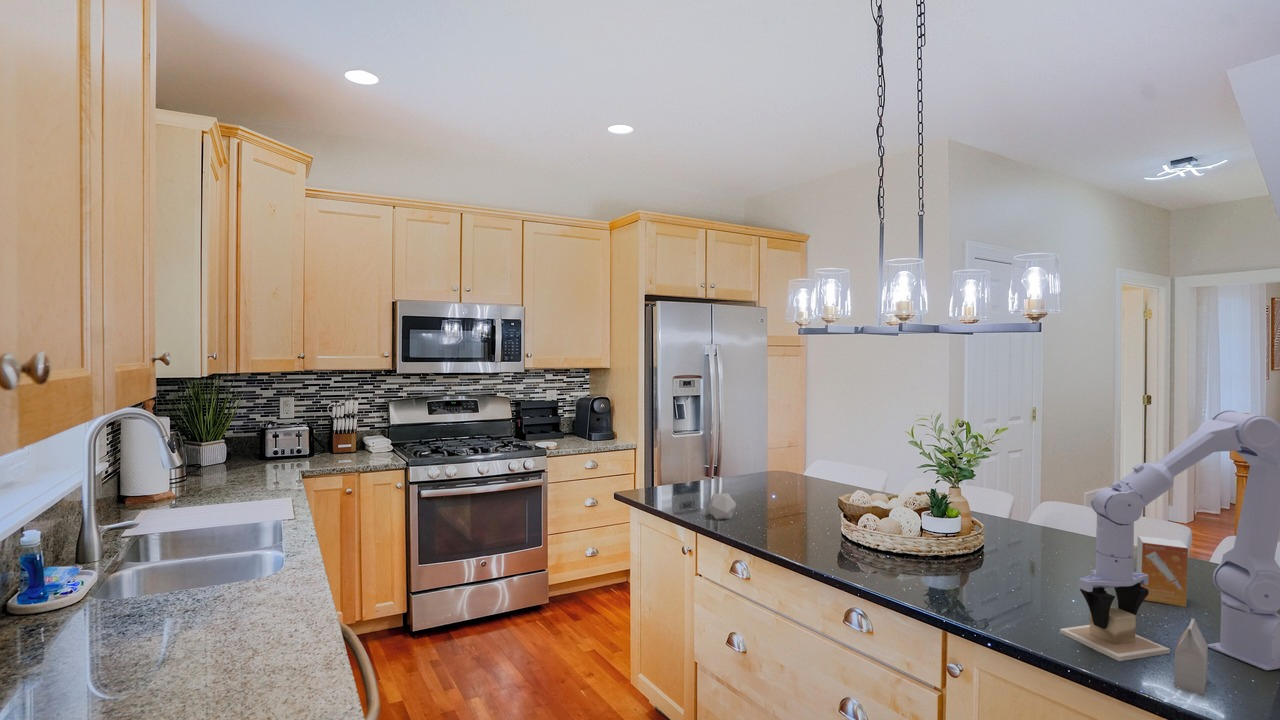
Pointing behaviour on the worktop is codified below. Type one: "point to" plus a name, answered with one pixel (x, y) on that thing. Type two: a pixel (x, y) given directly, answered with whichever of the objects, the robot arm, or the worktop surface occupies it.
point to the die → (722, 506)
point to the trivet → (1117, 652)
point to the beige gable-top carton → (1191, 660)
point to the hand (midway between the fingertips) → (1113, 624)
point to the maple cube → (1116, 627)
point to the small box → (1164, 569)
